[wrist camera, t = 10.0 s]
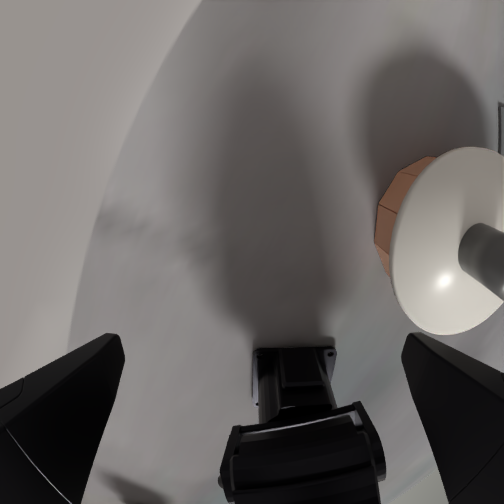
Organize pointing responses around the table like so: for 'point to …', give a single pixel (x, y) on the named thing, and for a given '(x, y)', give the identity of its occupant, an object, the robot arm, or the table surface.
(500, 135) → the mat
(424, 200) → the lid
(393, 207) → the bowl
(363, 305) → the table surface
